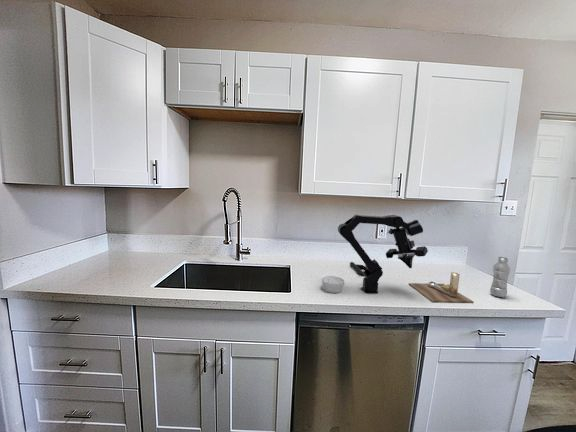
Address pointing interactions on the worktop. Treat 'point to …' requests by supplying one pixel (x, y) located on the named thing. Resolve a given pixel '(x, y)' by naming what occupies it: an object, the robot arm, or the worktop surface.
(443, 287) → the plate
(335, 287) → the ramekin
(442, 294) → the walnut board
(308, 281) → the worktop surface
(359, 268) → the door handle
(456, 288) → the beige lever tool
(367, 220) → the robot arm
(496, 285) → the plastic bottle
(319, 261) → the worktop surface
